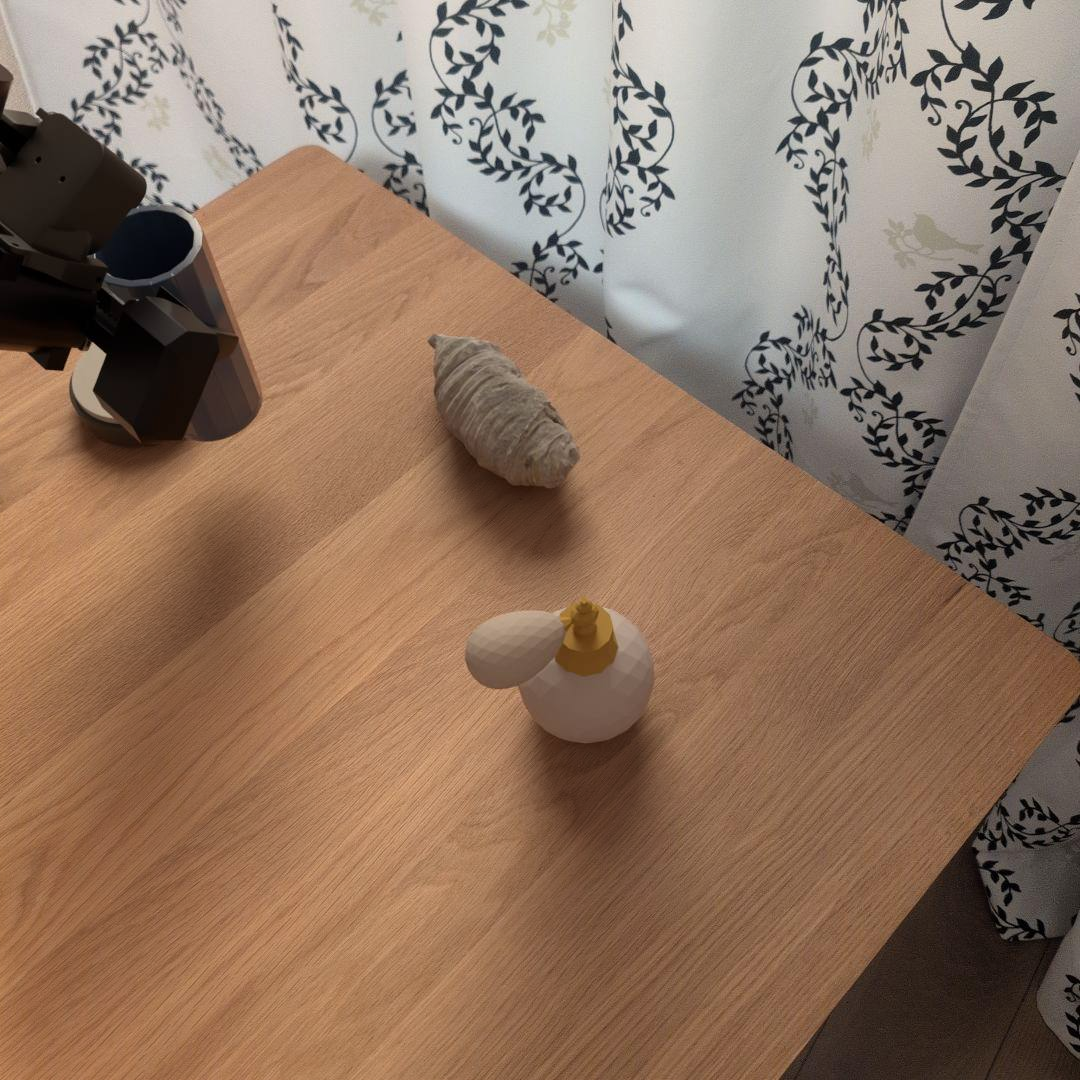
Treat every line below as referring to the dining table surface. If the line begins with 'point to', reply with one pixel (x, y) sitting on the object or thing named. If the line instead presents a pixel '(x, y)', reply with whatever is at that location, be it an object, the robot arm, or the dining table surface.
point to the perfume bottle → (567, 668)
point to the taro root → (500, 413)
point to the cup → (192, 277)
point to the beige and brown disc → (96, 401)
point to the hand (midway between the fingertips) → (200, 316)
